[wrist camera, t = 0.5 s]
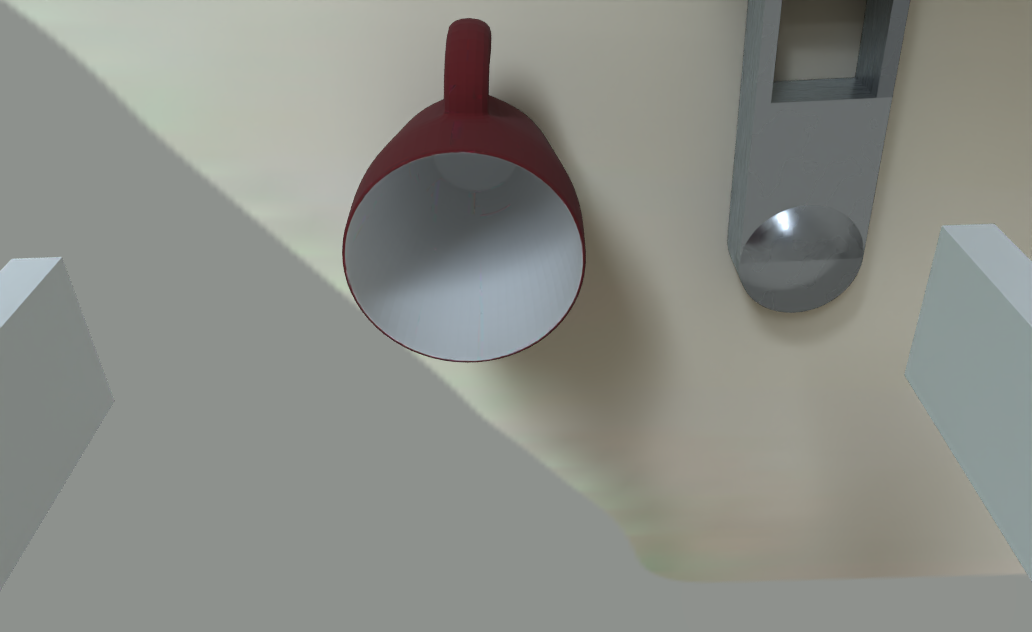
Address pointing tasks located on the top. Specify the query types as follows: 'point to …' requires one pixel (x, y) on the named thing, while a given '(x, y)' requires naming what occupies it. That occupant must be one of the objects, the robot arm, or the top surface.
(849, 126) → the grey rounded bar
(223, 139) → the top surface
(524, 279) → the mug
